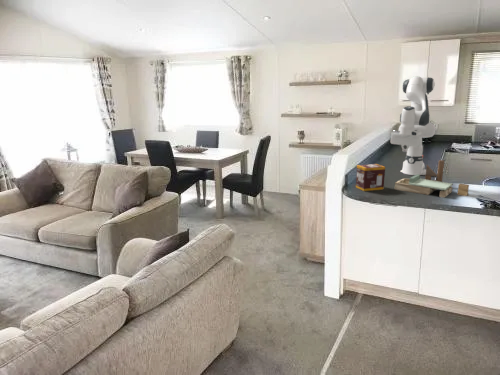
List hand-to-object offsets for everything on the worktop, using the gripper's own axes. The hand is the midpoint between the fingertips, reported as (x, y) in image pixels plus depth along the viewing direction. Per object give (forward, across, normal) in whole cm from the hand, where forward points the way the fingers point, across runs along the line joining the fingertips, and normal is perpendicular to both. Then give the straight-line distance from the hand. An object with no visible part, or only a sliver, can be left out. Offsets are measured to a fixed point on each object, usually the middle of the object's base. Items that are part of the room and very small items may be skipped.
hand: (404, 151), depth 266 cm
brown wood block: (+23, +39, -2) cm, 45 cm away
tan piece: (+23, +17, -8) cm, 29 cm away
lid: (+18, +21, -8) cm, 28 cm away
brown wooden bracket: (+24, +18, +9) cm, 31 cm away
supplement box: (+23, -13, -24) cm, 35 cm away
